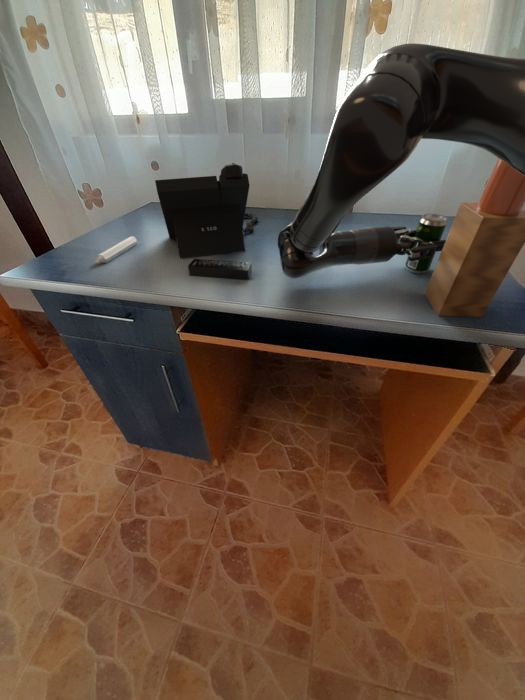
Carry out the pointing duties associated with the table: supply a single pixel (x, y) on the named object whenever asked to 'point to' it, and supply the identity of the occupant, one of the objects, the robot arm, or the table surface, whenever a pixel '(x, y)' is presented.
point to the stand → (474, 261)
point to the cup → (503, 191)
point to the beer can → (427, 239)
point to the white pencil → (116, 250)
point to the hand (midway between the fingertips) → (435, 239)
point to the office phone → (207, 212)
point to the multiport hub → (220, 269)
